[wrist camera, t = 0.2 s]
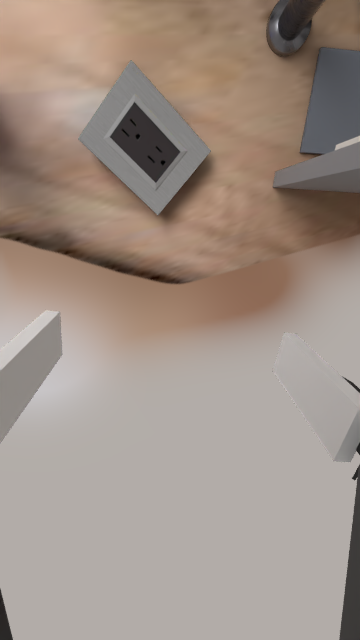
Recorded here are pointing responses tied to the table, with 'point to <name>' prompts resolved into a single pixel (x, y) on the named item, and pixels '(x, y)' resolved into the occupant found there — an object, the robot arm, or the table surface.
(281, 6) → the post
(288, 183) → the breaker panel
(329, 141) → the pad
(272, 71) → the table surface
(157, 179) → the electrical outlet
